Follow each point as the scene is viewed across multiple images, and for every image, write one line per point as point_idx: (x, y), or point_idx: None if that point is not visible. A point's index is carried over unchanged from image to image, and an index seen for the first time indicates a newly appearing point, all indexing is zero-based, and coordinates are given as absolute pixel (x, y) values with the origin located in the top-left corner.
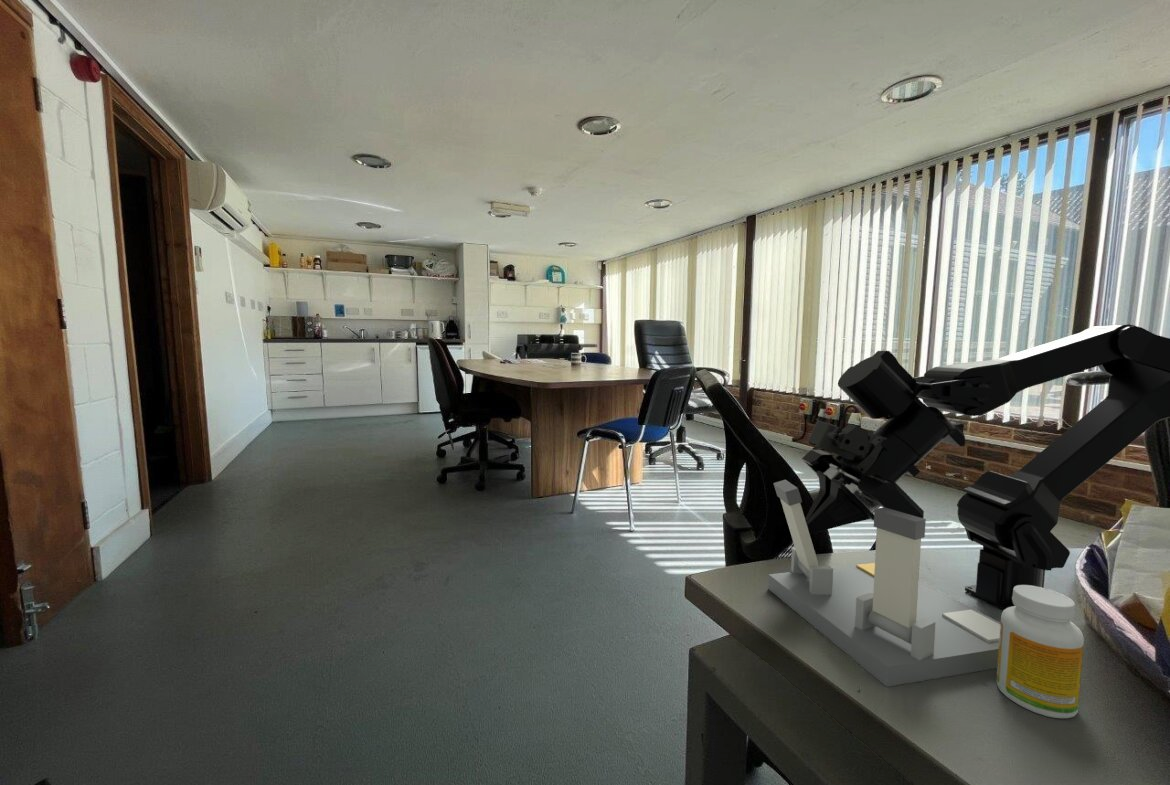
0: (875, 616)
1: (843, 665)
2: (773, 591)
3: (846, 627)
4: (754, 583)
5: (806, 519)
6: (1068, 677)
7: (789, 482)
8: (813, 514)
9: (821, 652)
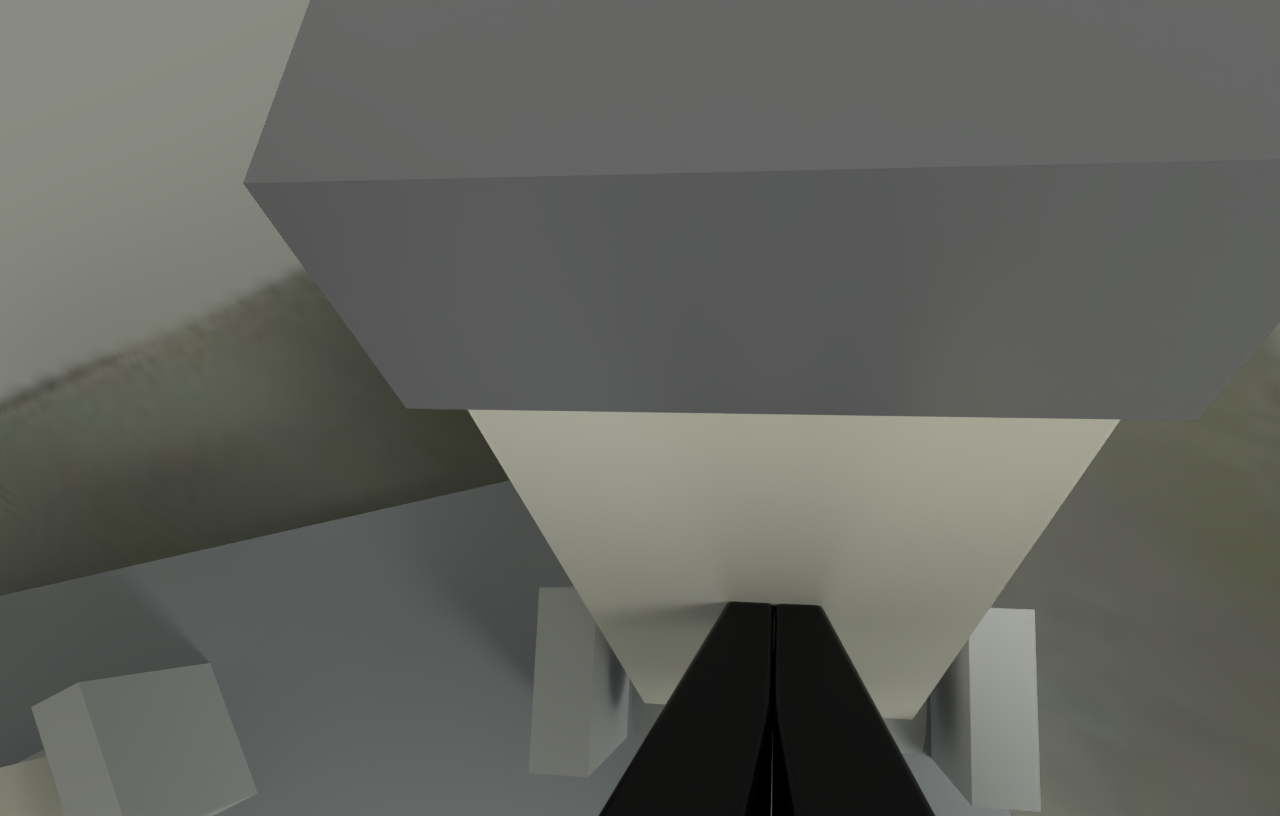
0: (44, 751)
1: (129, 503)
2: None
3: (204, 603)
4: None
5: (816, 680)
6: None
7: (966, 165)
8: (731, 774)
9: (225, 446)
